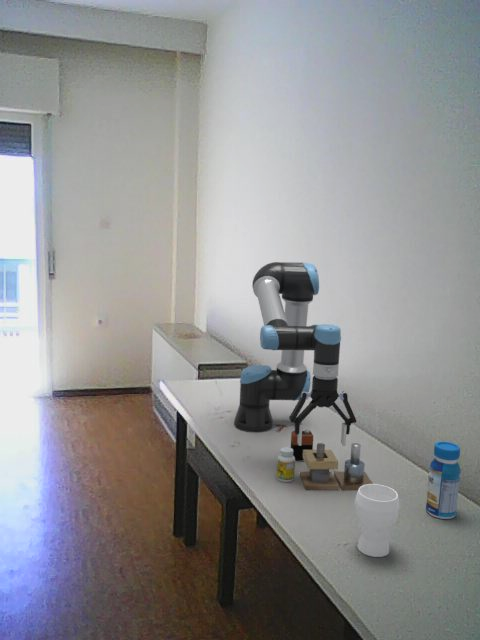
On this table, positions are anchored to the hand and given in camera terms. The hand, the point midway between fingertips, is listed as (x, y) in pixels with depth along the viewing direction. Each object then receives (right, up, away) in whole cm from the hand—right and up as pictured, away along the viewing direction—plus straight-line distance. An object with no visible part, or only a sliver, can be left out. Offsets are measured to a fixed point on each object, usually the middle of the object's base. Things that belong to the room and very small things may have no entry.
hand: (321, 444), depth 181 cm
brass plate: (0, -6, +1) cm, 6 cm away
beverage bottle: (+32, -17, -14) cm, 38 cm away
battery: (-4, -9, +21) cm, 23 cm away
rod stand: (0, -12, +2) cm, 13 cm away
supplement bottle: (-11, -12, +5) cm, 17 cm away
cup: (+8, -19, -33) cm, 39 cm away
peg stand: (+10, -13, +3) cm, 17 cm away
